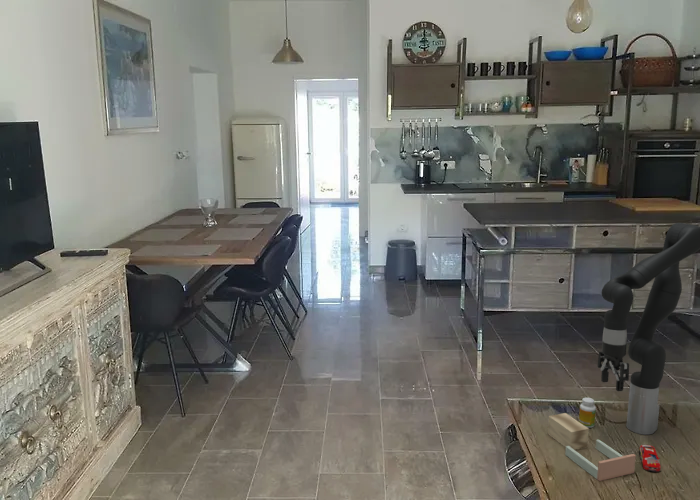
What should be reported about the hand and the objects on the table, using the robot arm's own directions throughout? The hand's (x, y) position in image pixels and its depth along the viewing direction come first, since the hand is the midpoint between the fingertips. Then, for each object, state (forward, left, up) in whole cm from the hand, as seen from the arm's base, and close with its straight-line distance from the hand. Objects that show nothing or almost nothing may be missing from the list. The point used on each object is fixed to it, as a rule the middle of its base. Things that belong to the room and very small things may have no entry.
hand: (611, 386), depth 206 cm
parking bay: (+15, +13, -19) cm, 27 cm away
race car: (-1, +18, -19) cm, 26 cm away
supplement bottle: (+1, -9, -19) cm, 21 cm away
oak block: (+15, -2, -19) cm, 24 cm away
